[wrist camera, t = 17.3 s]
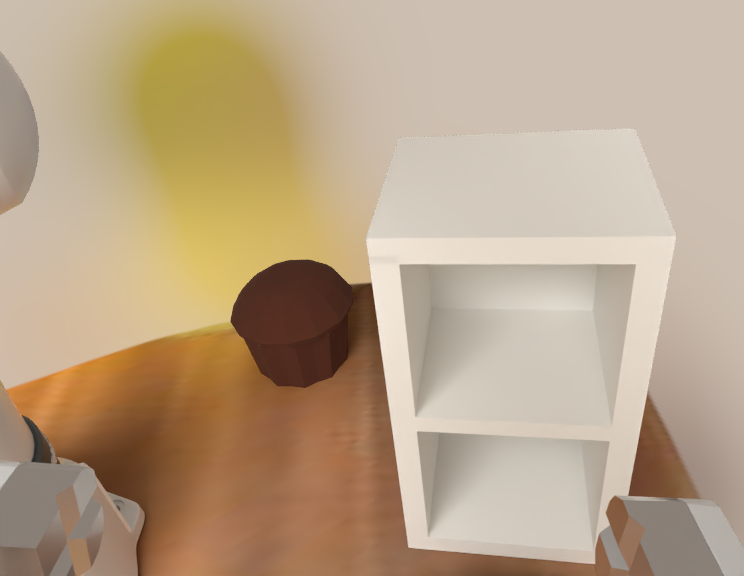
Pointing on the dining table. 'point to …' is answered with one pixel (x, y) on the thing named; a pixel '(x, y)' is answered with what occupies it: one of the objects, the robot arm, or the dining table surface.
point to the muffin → (295, 321)
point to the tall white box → (517, 333)
